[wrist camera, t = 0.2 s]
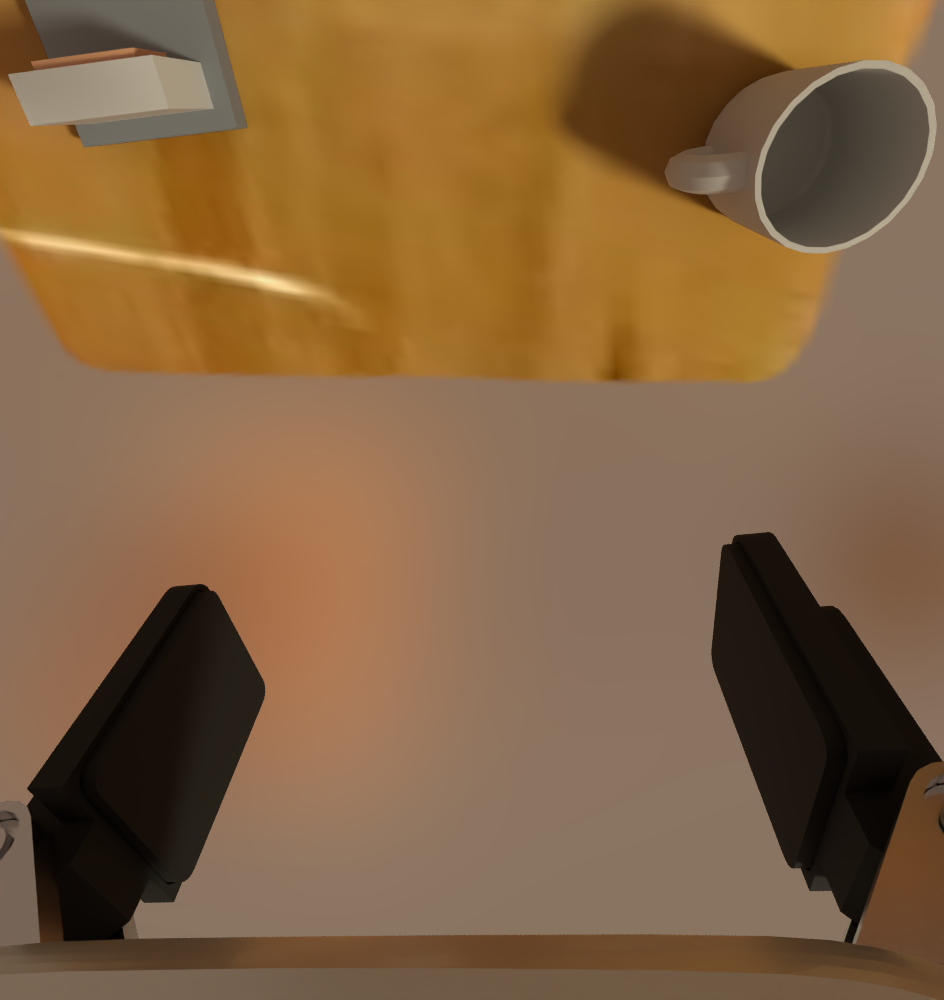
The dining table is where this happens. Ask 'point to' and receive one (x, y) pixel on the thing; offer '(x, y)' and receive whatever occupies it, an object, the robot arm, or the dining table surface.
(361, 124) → the dining table surface
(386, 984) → the robot arm
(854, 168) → the cup
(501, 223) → the dining table surface
